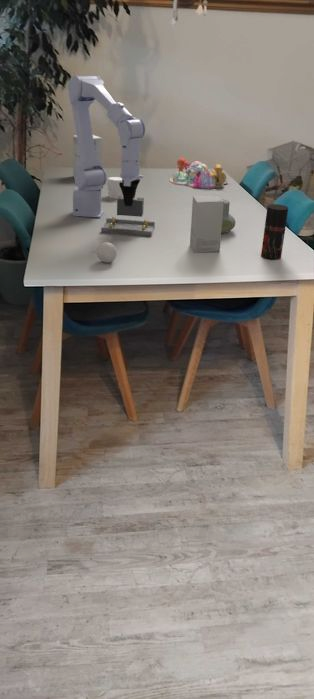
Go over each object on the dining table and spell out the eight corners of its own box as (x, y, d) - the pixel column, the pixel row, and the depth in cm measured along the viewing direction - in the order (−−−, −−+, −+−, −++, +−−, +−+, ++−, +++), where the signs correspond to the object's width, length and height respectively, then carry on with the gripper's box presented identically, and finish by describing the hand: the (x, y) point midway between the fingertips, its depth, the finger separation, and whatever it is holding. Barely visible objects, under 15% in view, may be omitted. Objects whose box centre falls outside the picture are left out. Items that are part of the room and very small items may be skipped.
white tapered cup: (128, 198, 244) (128, 179, 241) (112, 200, 241) (113, 181, 237) (118, 193, 249) (119, 175, 246) (103, 195, 246) (103, 177, 242)
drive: (116, 215, 205) (117, 199, 203) (118, 211, 208) (118, 195, 206) (141, 216, 204) (142, 200, 202) (143, 213, 208) (143, 197, 206)
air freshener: (204, 234, 208) (207, 204, 203) (199, 227, 215) (201, 197, 211) (237, 234, 210) (240, 204, 205) (230, 227, 217) (233, 197, 212)
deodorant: (280, 261, 189) (288, 210, 182) (260, 258, 190) (267, 208, 183) (281, 254, 194) (288, 205, 187) (261, 252, 195) (267, 203, 188)
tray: (101, 232, 204) (101, 224, 203) (106, 222, 214) (106, 215, 213) (151, 236, 204) (151, 228, 202) (154, 226, 213) (154, 218, 212)
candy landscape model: (226, 178, 284) (228, 156, 280) (229, 191, 263) (232, 168, 259) (169, 175, 284) (170, 153, 280) (168, 187, 263) (170, 164, 259)
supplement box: (102, 179, 268) (103, 138, 260) (82, 181, 264) (82, 138, 256) (92, 174, 275) (92, 134, 268) (72, 176, 271) (72, 134, 263)
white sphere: (115, 258, 184) (116, 239, 181) (117, 265, 179) (117, 246, 176) (88, 258, 183) (89, 239, 180) (89, 265, 178) (89, 246, 175)
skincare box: (214, 245, 199) (219, 195, 191) (220, 252, 193) (225, 201, 186) (188, 245, 197) (192, 195, 190) (193, 253, 191) (197, 201, 184)
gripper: (140, 166, 192) (139, 210, 198) (145, 156, 205) (144, 199, 211) (117, 164, 192) (116, 209, 199) (123, 155, 205) (122, 197, 212)
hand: (129, 203), depth 205 cm, fingers closed on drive, 4 cm apart
